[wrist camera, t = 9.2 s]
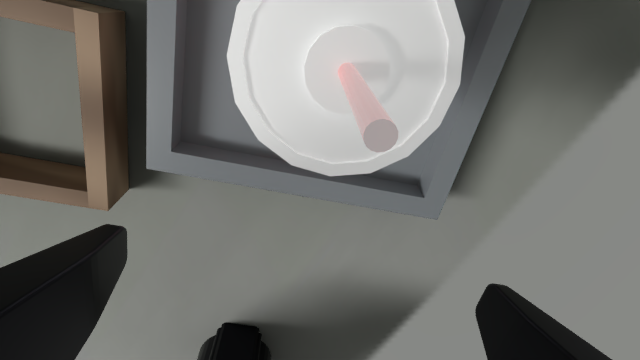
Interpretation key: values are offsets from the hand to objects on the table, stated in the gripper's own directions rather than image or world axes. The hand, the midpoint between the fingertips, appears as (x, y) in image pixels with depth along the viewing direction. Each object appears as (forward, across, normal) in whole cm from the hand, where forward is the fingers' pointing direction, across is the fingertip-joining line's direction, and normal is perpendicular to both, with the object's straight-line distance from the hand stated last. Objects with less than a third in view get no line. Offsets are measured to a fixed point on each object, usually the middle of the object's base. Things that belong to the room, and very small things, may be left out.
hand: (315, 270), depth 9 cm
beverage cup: (+12, 0, -5) cm, 13 cm away
